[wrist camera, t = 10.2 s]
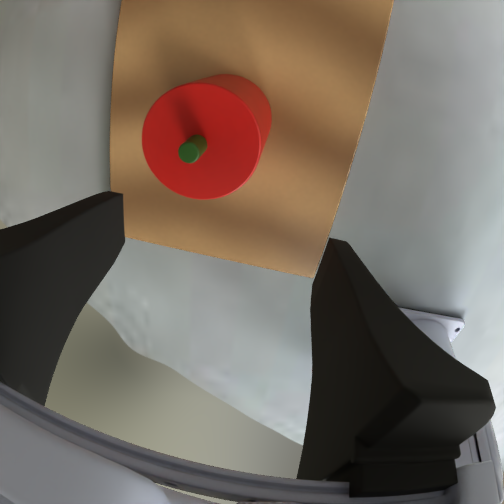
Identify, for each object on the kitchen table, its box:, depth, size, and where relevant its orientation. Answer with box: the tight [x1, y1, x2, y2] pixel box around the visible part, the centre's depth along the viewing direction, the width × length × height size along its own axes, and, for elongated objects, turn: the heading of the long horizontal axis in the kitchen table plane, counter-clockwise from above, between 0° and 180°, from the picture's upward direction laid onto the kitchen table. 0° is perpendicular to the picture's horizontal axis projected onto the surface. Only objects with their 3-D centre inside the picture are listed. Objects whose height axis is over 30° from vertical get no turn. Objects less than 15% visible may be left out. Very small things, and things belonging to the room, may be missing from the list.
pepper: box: [142, 74, 272, 200], centre depth 13 cm, size 5×5×6 cm
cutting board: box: [110, 0, 394, 278], centre depth 17 cm, size 18×14×2 cm
